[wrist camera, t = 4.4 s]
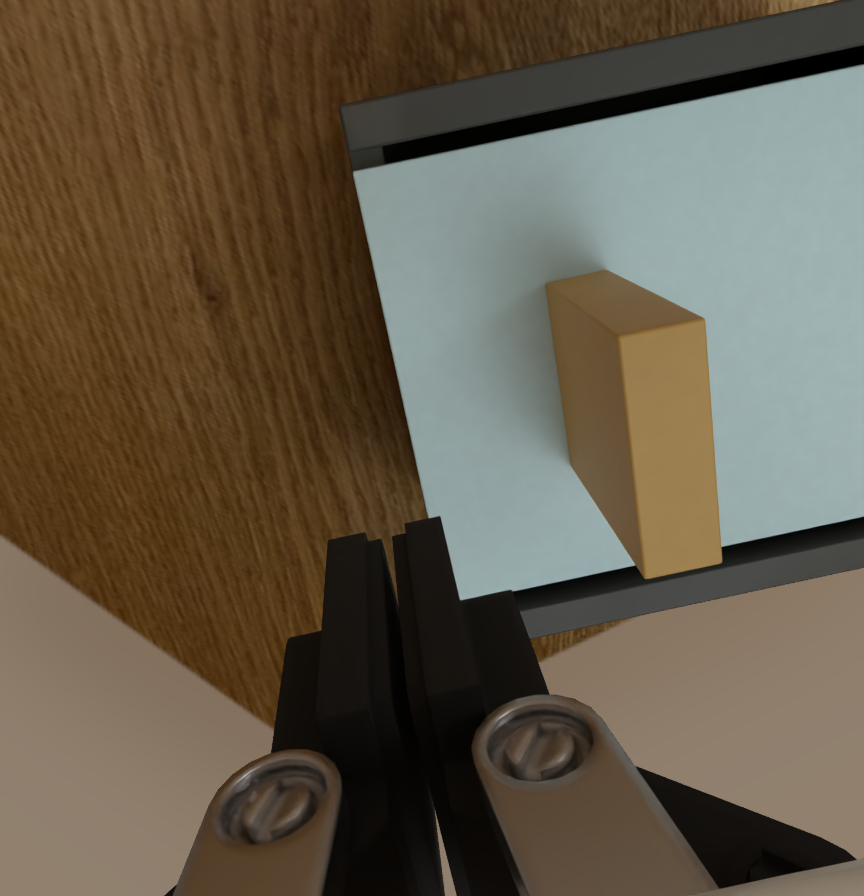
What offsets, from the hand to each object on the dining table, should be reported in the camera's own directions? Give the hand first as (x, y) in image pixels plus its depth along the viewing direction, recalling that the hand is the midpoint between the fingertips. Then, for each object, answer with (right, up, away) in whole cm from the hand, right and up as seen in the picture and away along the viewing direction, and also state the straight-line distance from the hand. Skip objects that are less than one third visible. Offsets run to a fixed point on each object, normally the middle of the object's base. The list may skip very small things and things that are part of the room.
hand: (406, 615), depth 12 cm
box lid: (+7, +5, +9) cm, 13 cm away
